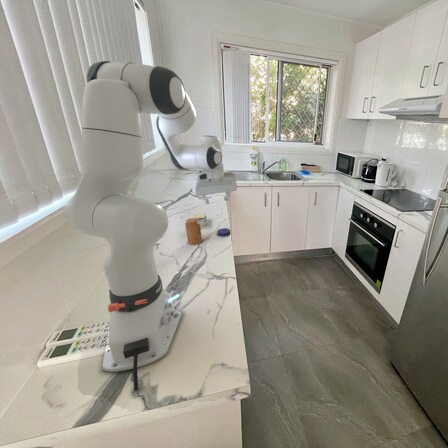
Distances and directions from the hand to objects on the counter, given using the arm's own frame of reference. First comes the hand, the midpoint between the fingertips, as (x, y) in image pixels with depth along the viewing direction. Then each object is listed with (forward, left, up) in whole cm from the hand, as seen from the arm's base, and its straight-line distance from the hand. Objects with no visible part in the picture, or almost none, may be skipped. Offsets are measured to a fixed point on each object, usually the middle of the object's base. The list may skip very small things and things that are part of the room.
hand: (216, 202), depth 116 cm
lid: (+5, -2, -18) cm, 19 cm away
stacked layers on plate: (+21, +9, -20) cm, 30 cm away
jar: (0, +12, -19) cm, 23 cm away
